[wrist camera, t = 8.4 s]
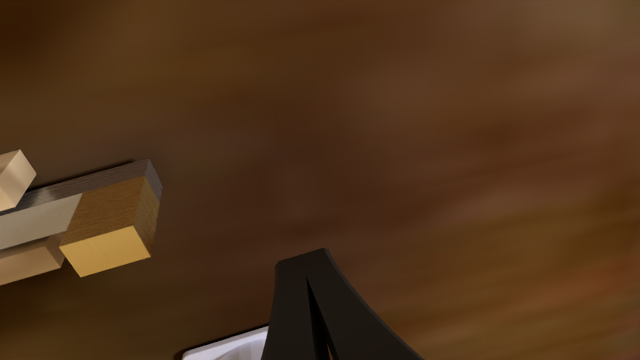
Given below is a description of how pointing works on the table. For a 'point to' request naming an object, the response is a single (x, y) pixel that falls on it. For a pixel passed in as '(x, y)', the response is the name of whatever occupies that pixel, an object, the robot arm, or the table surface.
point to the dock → (33, 256)
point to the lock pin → (91, 217)
